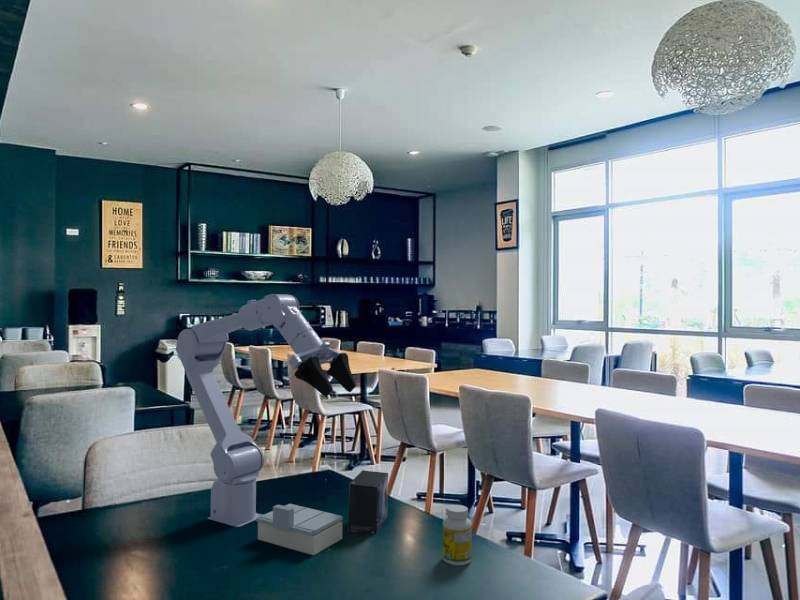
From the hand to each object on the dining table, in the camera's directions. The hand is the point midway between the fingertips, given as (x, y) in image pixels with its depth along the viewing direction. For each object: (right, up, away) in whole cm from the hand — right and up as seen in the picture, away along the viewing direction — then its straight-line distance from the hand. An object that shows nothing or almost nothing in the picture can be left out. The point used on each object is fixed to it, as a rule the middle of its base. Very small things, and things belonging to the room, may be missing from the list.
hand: (341, 390), depth 114 cm
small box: (+5, -31, +12) cm, 33 cm away
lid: (-9, -26, +3) cm, 28 cm away
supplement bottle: (+22, -31, -4) cm, 38 cm away
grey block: (-8, -30, +3) cm, 32 cm away
